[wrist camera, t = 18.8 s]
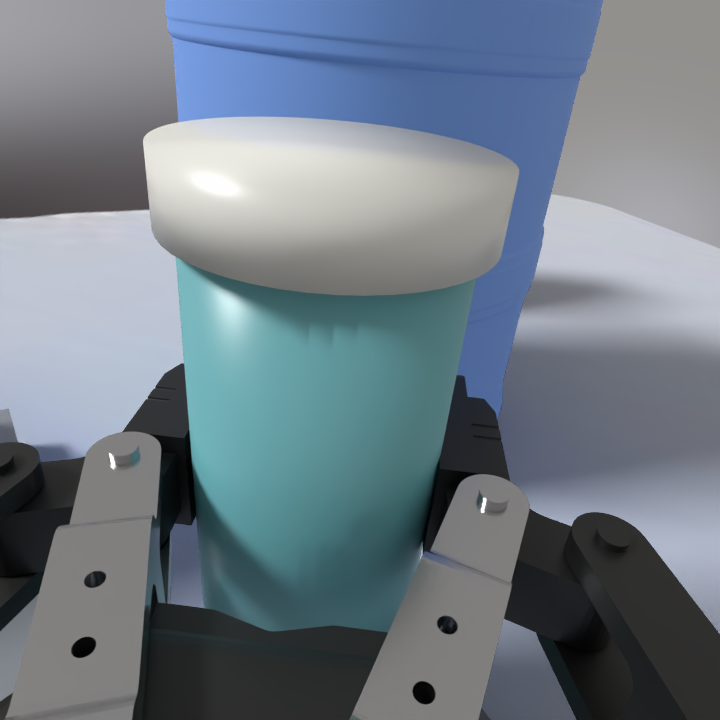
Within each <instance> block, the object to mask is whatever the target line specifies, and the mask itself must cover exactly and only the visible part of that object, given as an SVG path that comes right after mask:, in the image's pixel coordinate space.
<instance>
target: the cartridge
mask: <svg viewBox="0 0 720 720" xmlns="http://www.w3.org/2000/svg"><path fill="white" fill-rule="evenodd" d="M143 146H144V155H145V165H146V176H147V186H148V196H149V206H150V216H151V227H152V231H153V234H154V237H155V239H156V240H157V241H158V242H159V244H160V245H161V246H162V247H163V248H165V249H166V250H167V251H168V252H170V253H171V254H172V255H174V256H176V266H177V279H178V291H179V304H180V317H181V329H182V342H183V354H184V367H185V380H186V392H187V405H188V417H189V430H190V443H191V455H192V468H193V480H194V493H195V506H196V518H197V531H198V544H199V556H200V569H201V581H202V594H203V607H204V608H205V609H213V610H217V611H219V612H222V613H224V614H227V615H229V616H232V617H234V618H237V619H239V620H242V621H244V622H247V623H249V624H252V625H254V626H257V627H259V628H262V629H264V630H267V631H285V630H295V629H304V628H313V627H323V626H332V625H335V626H343V627H351V628H358V629H366V630H374V631H381V632H389V630H390V627H391V625H392V623H393V621H394V618H395V616H396V614H397V612H398V609H399V607H400V605H401V603H402V600H403V598H404V596H405V594H406V591H407V589H408V587H409V585H410V582H411V580H412V578H413V576H414V573H415V571H416V569H417V567H418V564H419V560H420V555H421V550H422V545H423V538H424V533H425V528H426V523H427V518H428V513H429V508H430V503H431V498H432V493H433V488H434V483H435V478H436V473H437V467H438V462H439V457H440V455H441V450H442V445H443V440H444V435H445V430H446V425H447V420H448V415H449V411H450V406H451V401H452V396H453V391H454V386H455V381H456V376H457V371H458V366H459V361H460V356H461V351H462V346H463V341H464V336H465V331H466V326H467V321H468V316H469V311H470V306H471V301H472V296H473V291H474V286H475V281H476V278H478V277H480V276H481V275H483V274H485V273H487V272H489V271H490V270H491V269H492V268H493V267H494V266H495V265H496V264H497V263H498V261H499V259H500V258H501V254H502V250H503V245H504V241H505V236H506V232H507V227H508V222H509V218H510V213H511V209H512V204H513V200H514V195H515V191H516V186H517V181H518V177H519V168H518V167H517V165H516V164H515V163H514V162H513V161H512V160H510V159H508V158H507V157H505V156H503V155H501V154H499V153H497V152H495V151H492V150H490V149H487V148H484V147H481V146H478V145H475V144H472V143H469V142H465V141H461V140H457V139H454V138H449V137H445V136H441V135H436V134H431V133H426V132H421V131H415V130H410V129H404V128H397V127H391V126H384V125H376V124H368V123H360V122H350V121H340V120H328V119H314V118H296V117H223V118H209V119H199V120H190V121H184V122H178V123H174V124H169V125H165V126H162V127H159V128H156V129H154V130H152V131H151V132H149V133H148V134H147V135H146V136H145V137H144V140H143Z"/></svg>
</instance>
